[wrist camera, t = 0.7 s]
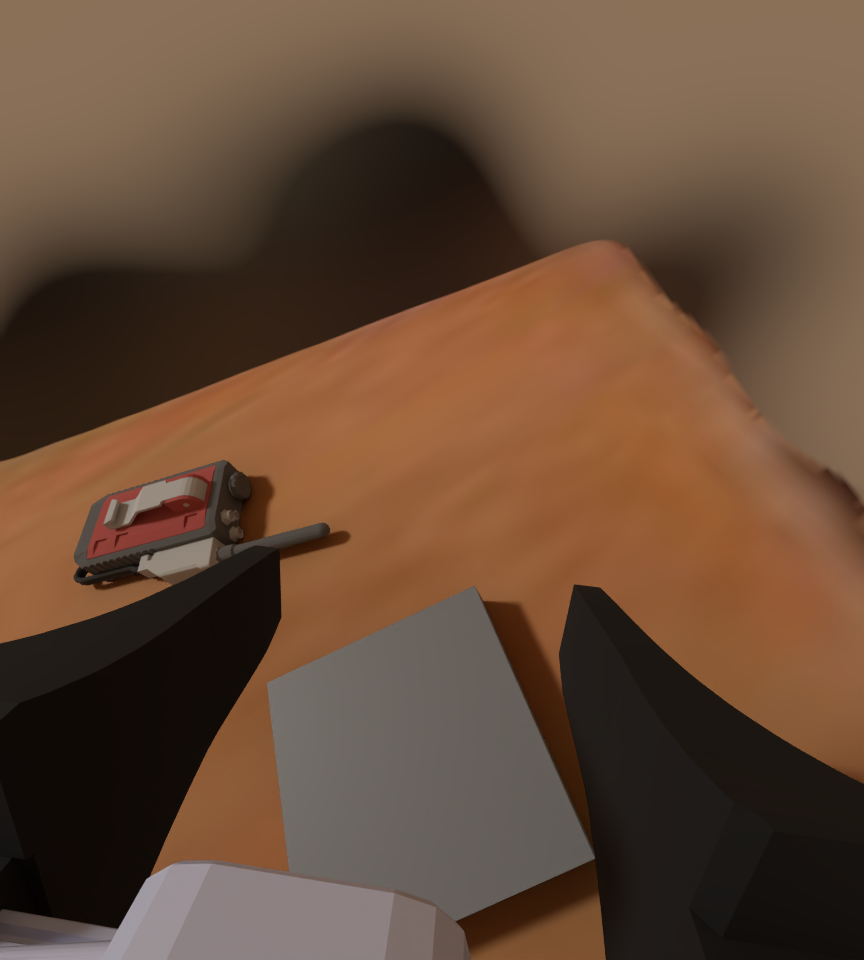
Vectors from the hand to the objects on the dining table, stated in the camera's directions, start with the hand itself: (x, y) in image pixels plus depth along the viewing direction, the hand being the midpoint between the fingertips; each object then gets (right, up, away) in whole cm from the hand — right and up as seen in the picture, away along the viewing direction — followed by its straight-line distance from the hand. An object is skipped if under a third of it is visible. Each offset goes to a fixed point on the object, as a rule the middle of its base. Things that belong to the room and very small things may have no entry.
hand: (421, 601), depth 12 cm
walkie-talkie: (-16, -1, +25) cm, 30 cm away
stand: (0, -10, +12) cm, 16 cm away
